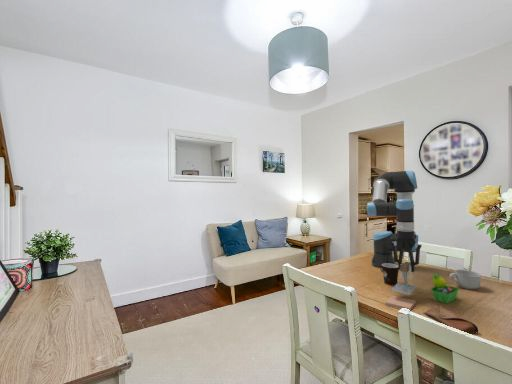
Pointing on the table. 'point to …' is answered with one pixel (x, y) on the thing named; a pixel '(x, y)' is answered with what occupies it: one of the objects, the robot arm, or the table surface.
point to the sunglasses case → (451, 319)
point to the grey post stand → (404, 286)
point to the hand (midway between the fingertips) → (406, 277)
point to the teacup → (466, 279)
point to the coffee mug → (390, 273)
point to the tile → (400, 302)
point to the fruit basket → (443, 290)
